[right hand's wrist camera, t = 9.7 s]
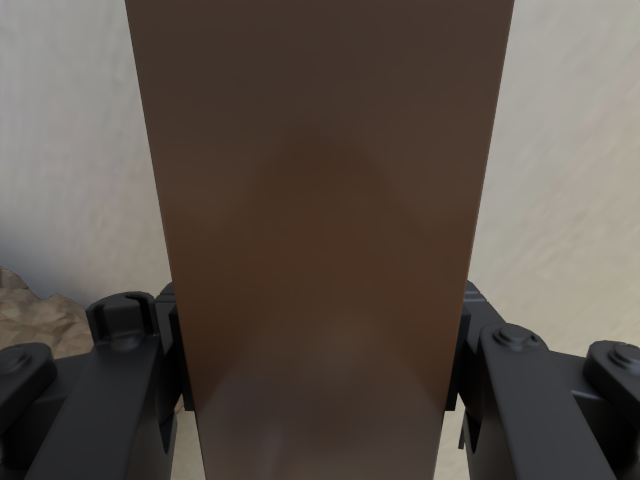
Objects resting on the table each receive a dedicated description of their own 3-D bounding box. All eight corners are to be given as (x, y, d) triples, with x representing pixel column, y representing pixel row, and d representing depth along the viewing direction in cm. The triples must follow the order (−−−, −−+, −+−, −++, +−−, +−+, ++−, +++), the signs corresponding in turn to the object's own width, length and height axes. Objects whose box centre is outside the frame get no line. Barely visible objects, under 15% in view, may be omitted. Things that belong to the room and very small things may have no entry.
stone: (-188, 361, 24) (-307, 433, 19) (-56, 192, 23) (-139, 214, 18) (109, 465, 33) (88, 534, 27) (213, 343, 32) (213, 390, 26)
